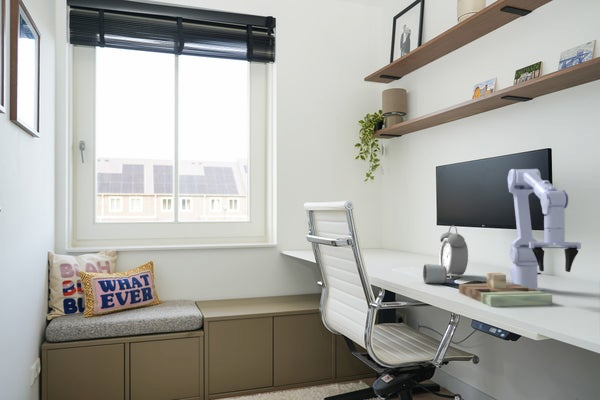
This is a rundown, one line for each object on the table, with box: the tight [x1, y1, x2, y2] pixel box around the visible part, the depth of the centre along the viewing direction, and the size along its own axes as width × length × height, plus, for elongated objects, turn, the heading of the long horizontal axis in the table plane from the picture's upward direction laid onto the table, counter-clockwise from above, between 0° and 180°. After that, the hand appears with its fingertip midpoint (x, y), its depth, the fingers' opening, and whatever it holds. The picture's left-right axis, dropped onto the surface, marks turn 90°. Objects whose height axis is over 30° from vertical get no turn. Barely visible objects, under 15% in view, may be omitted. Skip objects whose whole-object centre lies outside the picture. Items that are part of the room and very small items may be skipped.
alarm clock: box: [438, 225, 469, 280], centre depth 199 cm, size 16×9×22 cm, turn 0°
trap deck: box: [458, 282, 553, 307], centre depth 154 cm, size 22×20×3 cm
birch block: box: [486, 272, 507, 288], centre depth 158 cm, size 4×4×4 cm
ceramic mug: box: [422, 263, 448, 285], centre depth 185 cm, size 11×8×8 cm
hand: (554, 271), depth 147 cm, fingers open, 7 cm apart
